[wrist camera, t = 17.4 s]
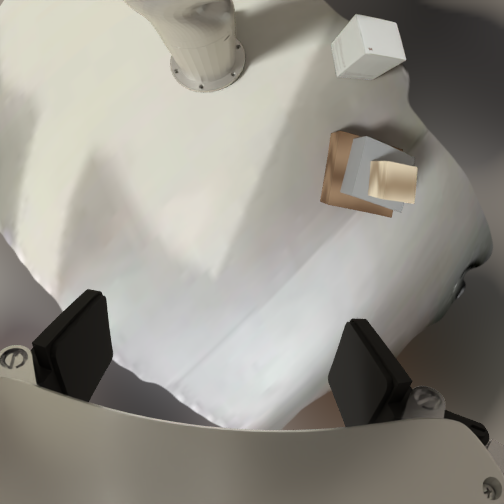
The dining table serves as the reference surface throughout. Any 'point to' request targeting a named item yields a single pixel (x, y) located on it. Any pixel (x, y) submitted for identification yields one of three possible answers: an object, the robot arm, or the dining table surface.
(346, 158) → the base block
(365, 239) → the dining table surface
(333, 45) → the supplement box
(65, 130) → the dining table surface
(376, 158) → the top block
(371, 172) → the ash cube
